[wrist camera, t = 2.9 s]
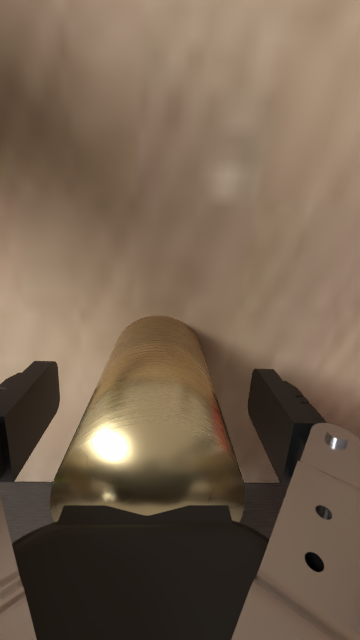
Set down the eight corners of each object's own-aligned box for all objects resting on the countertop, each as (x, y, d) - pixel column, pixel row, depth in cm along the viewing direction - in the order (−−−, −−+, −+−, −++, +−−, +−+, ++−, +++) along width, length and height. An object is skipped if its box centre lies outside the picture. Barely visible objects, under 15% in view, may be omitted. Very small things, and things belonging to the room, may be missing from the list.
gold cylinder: (205, 317, 13) (258, 426, 6) (198, 397, 15) (233, 571, 7) (113, 313, 13) (41, 422, 5) (114, 394, 14) (56, 574, 7)
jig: (317, 483, 17) (361, 556, 13) (288, 593, 20) (318, 679, 16) (-26, 482, 16) (-88, 562, 12) (-3, 599, 18) (-47, 695, 15)
